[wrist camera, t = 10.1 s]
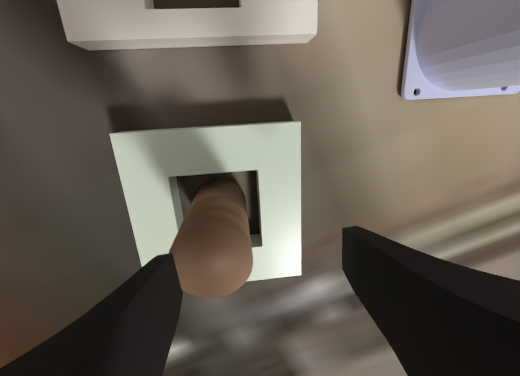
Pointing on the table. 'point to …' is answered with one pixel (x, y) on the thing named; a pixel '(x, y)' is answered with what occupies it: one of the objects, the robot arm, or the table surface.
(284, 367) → the table surface
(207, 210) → the peg
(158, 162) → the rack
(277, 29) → the socket block
